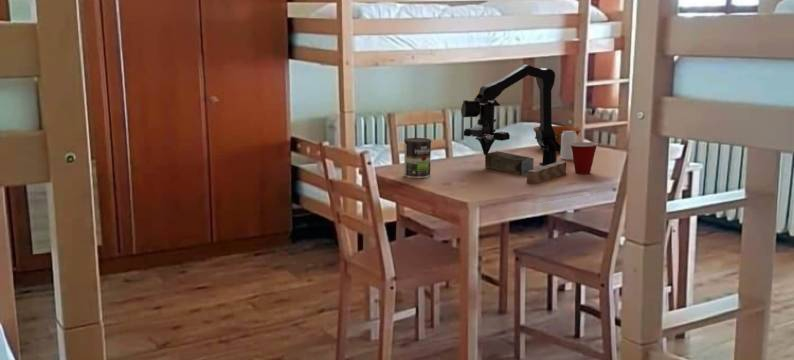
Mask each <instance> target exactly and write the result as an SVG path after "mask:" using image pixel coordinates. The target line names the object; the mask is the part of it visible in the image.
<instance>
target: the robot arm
mask: <svg viewBox="0 0 794 360" xmlns="http://www.w3.org/2000/svg"><path fill="white" fill-rule="evenodd" d="M527 76H529V77H533V78H535V81H536V84H537V87H538V90H539V119H540V120H539V121H540V122H539V126H538V127H539V129H535V131H534V132H536V133H535V137H534V139H536V142H537V144H538V143H539V144H540V145H539V144H538V145H539V146H540V149H542V162H539V165H541V166H545V165H549V164H552V163H555V162H558V159H557V158H558V152H561V150H560V149H561V146H560V145H559V144H558V143H557V142H556V138H555V132H554V130H553V127H552V126H553V125H552V123H553V122H552V90H553V88H554V86H555V81H556V73H555V71H554V70H553V69H552V68H545V67H541V68H538V67H536V66H535V67H534V66H532V65H529V64H523V65H521V67H519V68H516V69H515V70H514V71H512V72H510V73H508V74H506V75H505V76H503V77H502V78H500V79H498V80H495V81H492V82H490V83H486V84H484V85H482V86H481V87H480V88H479V91H478V94H477V95H476V96H475V97H474V99H473V100H468V99H464V100H462V101H463V102H462V105H461V107H460V114H461V116H462V118H478V117H479V118H478V120H477V124H474V125H473V126H472V127H469V128H465V129H464V130H463V137H471V136H472V138H475V140H477V141H478V142H479V143H480V146H481V149H482V151H483V152H482V153H483V155H484V156H485V154H487V153H490V152H489V151H490V149H491V147H492V146H493V144H494V143H495V141H507V140H510V136H511V135H510V133H509V132H508V131H507V132H506V131H502V130H501V131H496V129H495V123H496V122H497V119H495V111H496V110H495V109H496V108H495V107H499V106H501V104H500V103H499V102H498V101H497V99H496V98H498V97H499V96H500V95H501V94H502V93H503V92H504V91H505V90H506V89H507V88H509V87H511V86H513V85H514V84H516V83H517V82H519V81H521V80H522V79H524V78H527Z"/></svg>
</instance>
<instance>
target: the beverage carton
mask: <svg viewBox="0 0 794 360" xmlns="http://www.w3.org/2000/svg"><path fill="white" fill-rule="evenodd" d="M484 156H485V157H484V159H485V160H484V161H485V162H484V164H485V165H484V167H485V169H491V170H494V171H501V172H505V173H510V174H517V175H520V176H524V175H527V171H529V170H533V169H535V167H534V160H535V159H534V158H533V157H530V156H523V155H519V154H514V153H509V152H504V151H498V150H497V151H491V152H488V153H487V154H485V155H484Z"/></svg>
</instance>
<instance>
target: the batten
mask: <svg viewBox="0 0 794 360" xmlns="http://www.w3.org/2000/svg"><path fill="white" fill-rule="evenodd" d="M564 174H567V161H564V160H563V161H562V160H559V161H558V160H557V162H555V163H552V164H549V165H541V166H539V167H536V168H533V170H529V171H527V174H526V184H530V185H535V184H538V183H542V182H545V181H547V180H549V179H553V178H556V177H558V176H562V175H564Z"/></svg>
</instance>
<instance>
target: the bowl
mask: <svg viewBox="0 0 794 360" xmlns="http://www.w3.org/2000/svg"><path fill="white" fill-rule="evenodd" d="M539 127H540V126H534V127H533V131H534V132H535V129H539ZM552 127H553V130H554V132H555V138H556V142H557V143H558V144H559V145H560V146H561V137H562V133H563V131H565V130H572V131H576V134H577V136H578V135H579V134H580V132H581V129H580V128H578V127H574V126H568V125H567V126H566V125H552ZM535 134H536V132H535ZM537 144H538V146H540V144H539V143H538V142H537ZM560 151H561V149H560Z"/></svg>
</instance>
